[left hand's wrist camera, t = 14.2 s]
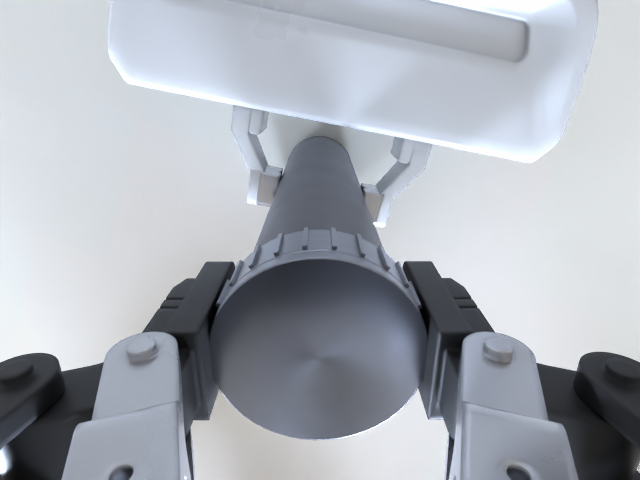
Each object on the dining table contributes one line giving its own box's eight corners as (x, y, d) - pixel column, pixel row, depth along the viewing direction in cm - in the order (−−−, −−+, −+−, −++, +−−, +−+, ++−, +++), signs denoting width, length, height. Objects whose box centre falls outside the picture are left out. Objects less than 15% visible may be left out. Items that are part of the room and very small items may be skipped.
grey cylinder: (363, 174, 28) (447, 360, 10) (313, 211, 29) (302, 443, 11) (325, 122, 26) (339, 222, 8) (274, 162, 27) (186, 330, 9)
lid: (455, 321, 11) (478, 363, 9) (314, 422, 12) (313, 474, 10) (325, 182, 9) (326, 203, 8) (180, 312, 11) (157, 353, 9)
